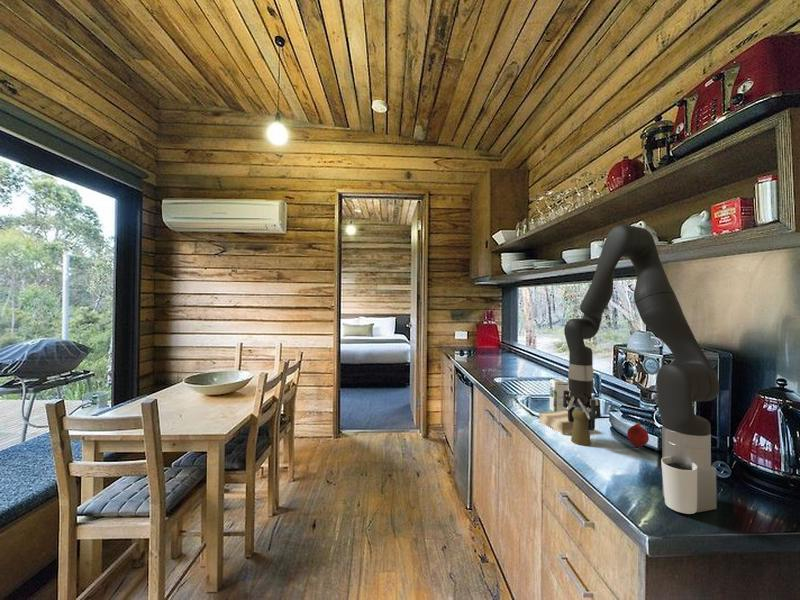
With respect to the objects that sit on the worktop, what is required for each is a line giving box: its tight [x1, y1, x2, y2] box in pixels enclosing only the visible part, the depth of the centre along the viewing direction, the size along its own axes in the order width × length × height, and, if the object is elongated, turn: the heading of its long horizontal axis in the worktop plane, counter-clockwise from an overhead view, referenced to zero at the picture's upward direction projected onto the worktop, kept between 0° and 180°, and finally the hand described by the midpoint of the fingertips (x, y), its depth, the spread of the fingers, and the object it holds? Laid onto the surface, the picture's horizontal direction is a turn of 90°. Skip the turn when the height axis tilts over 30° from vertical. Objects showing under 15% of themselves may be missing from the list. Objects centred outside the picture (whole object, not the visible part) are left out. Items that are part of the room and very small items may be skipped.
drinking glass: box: [660, 457, 698, 515], centre depth 81 cm, size 7×7×10 cm
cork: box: [570, 408, 592, 447], centre depth 118 cm, size 6×6×11 cm
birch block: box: [539, 410, 574, 435], centre depth 132 cm, size 12×12×5 cm
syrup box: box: [549, 378, 569, 412], centre depth 149 cm, size 6×6×14 cm
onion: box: [626, 422, 649, 448], centre depth 114 cm, size 6×6×8 cm
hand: (580, 425), depth 118 cm, fingers open, 8 cm apart
